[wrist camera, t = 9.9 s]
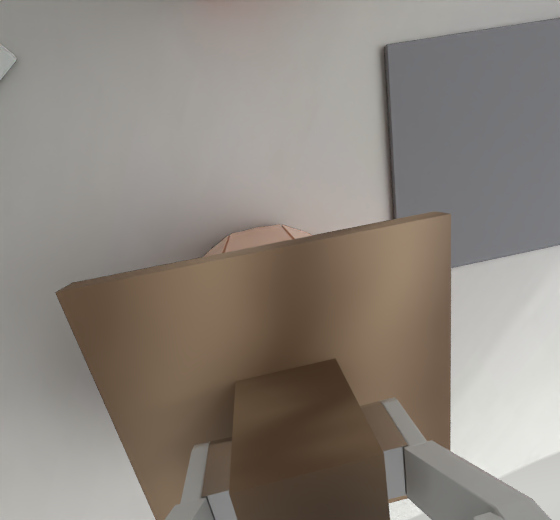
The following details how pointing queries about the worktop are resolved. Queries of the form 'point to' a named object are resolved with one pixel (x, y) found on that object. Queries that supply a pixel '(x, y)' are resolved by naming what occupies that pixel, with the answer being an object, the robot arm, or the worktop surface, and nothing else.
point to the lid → (276, 363)
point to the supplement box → (5, 60)
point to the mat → (479, 136)
